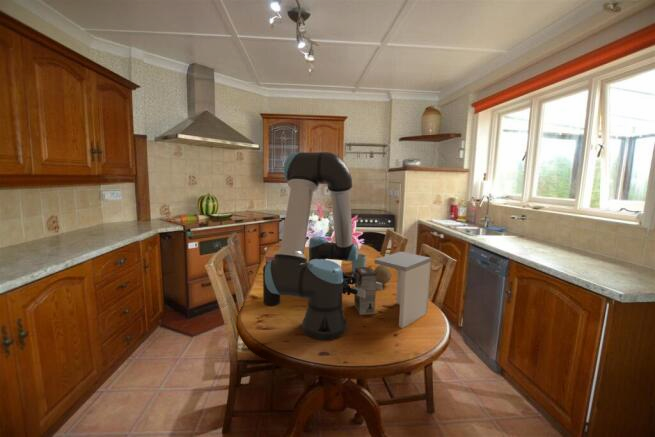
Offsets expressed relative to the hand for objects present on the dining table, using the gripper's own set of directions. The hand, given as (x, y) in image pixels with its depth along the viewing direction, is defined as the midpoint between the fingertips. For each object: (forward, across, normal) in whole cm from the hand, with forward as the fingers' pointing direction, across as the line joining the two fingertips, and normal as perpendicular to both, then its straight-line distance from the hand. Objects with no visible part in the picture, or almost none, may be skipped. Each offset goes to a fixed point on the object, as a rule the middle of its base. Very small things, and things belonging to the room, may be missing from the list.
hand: (373, 290), depth 116 cm
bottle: (-34, +23, -9) cm, 42 cm away
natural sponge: (-15, -28, -9) cm, 33 cm away
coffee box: (-4, 0, -9) cm, 10 cm away
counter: (+8, -7, -9) cm, 14 cm away
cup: (-34, -33, -9) cm, 48 cm away
